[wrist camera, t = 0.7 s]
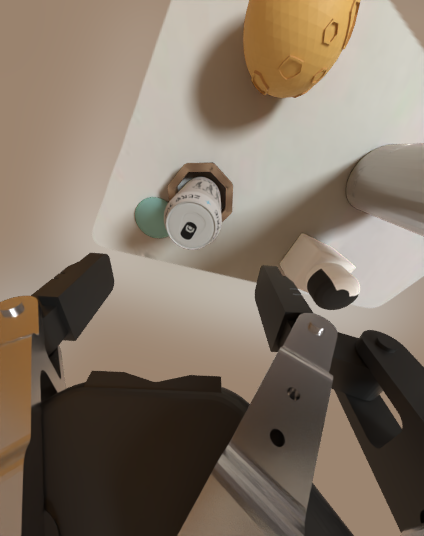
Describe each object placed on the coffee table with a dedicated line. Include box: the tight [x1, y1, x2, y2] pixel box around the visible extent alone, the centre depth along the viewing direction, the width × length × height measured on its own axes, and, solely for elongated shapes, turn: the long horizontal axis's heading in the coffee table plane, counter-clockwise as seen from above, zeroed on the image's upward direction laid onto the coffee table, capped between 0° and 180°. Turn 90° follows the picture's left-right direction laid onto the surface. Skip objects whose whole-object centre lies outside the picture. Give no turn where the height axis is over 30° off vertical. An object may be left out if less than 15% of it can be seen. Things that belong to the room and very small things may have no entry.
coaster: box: [135, 197, 169, 238], centre depth 33 cm, size 7×7×1 cm
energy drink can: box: [164, 177, 222, 250], centre depth 25 cm, size 6×6×15 cm
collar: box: [167, 163, 233, 222], centre depth 31 cm, size 10×10×2 cm
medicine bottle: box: [280, 233, 360, 310], centre depth 32 cm, size 7×7×12 cm
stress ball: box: [243, 0, 360, 98], centre depth 19 cm, size 10×10×10 cm
